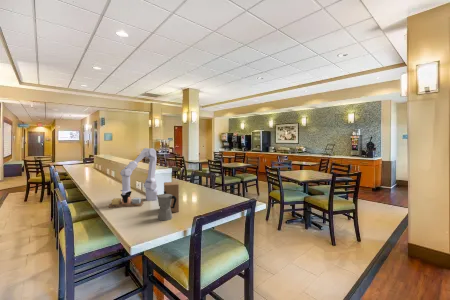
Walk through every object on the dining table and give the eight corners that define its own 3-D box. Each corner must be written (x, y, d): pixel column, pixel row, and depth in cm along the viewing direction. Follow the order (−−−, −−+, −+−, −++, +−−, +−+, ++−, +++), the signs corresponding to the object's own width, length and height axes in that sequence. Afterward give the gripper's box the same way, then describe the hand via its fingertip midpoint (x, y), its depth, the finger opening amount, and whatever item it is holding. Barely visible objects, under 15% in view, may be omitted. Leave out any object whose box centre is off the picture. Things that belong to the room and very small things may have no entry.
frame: (143, 204, 177) (143, 200, 177) (141, 207, 169) (140, 203, 169) (112, 205, 174) (112, 202, 174) (108, 208, 166) (108, 205, 166)
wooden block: (164, 213, 156) (164, 185, 155) (164, 209, 165) (163, 182, 164) (178, 212, 158) (178, 184, 157) (178, 208, 168) (177, 181, 167)
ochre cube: (120, 204, 173) (120, 198, 173) (118, 206, 168) (118, 199, 168) (114, 204, 173) (113, 198, 172) (111, 206, 168) (111, 200, 168)
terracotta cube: (124, 203, 174) (124, 197, 174) (130, 203, 174) (130, 196, 174) (121, 205, 169) (121, 198, 169) (128, 205, 169) (128, 198, 169)
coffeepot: (152, 219, 144) (151, 191, 143) (161, 214, 153) (160, 188, 152) (172, 222, 139) (172, 194, 138) (180, 217, 147) (180, 190, 146)
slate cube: (140, 203, 176) (140, 197, 175) (139, 205, 171) (139, 199, 170) (134, 204, 175) (134, 197, 175) (132, 206, 170) (132, 199, 170)
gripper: (123, 182, 177) (123, 199, 178) (117, 186, 163) (117, 204, 164) (132, 182, 178) (133, 199, 179) (127, 186, 164) (128, 204, 165)
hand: (126, 201), depth 172 cm, fingers closed on terracotta cube, 5 cm apart
